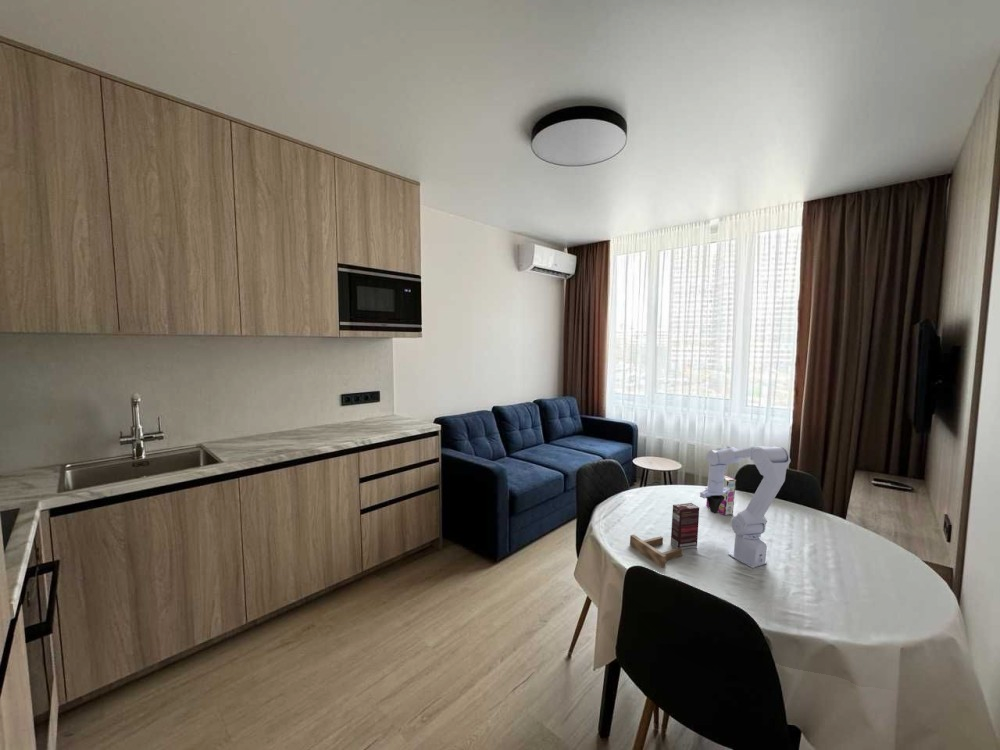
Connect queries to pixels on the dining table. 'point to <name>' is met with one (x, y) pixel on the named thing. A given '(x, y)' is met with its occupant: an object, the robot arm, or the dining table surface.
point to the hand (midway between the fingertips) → (713, 512)
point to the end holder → (654, 550)
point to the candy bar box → (727, 497)
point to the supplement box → (685, 526)
